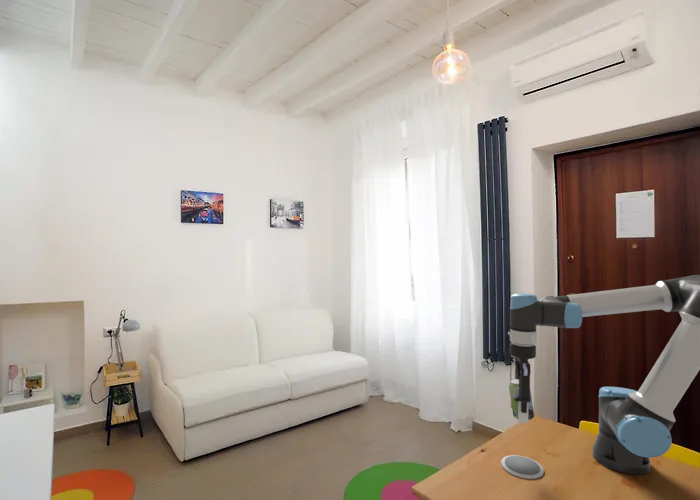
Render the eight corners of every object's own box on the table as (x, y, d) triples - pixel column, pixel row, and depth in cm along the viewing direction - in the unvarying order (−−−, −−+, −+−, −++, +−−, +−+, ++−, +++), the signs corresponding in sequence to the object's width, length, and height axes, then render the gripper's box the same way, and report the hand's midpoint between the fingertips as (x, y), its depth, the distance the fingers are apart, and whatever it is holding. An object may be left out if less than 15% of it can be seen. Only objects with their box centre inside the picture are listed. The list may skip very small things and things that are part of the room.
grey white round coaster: (539, 460, 124) (539, 457, 124) (547, 481, 112) (547, 478, 112) (499, 454, 127) (499, 451, 127) (503, 475, 115) (503, 472, 115)
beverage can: (536, 424, 116) (537, 384, 116) (510, 421, 118) (511, 382, 118) (531, 415, 123) (531, 378, 122) (506, 413, 124) (507, 376, 124)
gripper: (506, 336, 130) (505, 404, 130) (513, 350, 112) (512, 429, 112) (530, 337, 128) (529, 407, 128) (542, 352, 110) (540, 433, 110)
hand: (521, 417), depth 120 cm, fingers closed on beverage can, 6 cm apart
